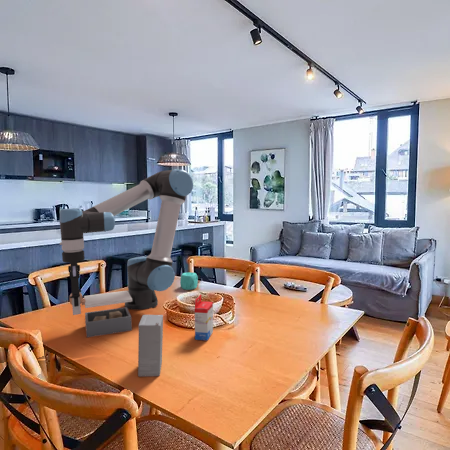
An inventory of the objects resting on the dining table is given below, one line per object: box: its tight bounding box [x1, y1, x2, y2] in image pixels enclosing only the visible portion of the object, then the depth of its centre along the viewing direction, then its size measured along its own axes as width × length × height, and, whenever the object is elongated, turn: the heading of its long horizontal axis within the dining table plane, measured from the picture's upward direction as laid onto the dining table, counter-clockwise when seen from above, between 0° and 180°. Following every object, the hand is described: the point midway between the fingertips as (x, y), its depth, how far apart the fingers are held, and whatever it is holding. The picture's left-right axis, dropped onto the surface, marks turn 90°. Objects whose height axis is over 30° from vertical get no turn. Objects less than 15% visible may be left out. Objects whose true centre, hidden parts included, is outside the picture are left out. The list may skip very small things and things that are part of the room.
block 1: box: [93, 316, 106, 321], centre depth 132 cm, size 4×4×5 cm
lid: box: [69, 289, 132, 309], centre depth 132 cm, size 22×13×4 cm, turn 114°
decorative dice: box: [179, 271, 199, 291], centre depth 193 cm, size 8×8×8 cm
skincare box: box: [137, 314, 164, 378], centre depth 103 cm, size 8×7×16 cm
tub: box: [84, 306, 133, 338], centre depth 134 cm, size 16×12×6 cm
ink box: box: [194, 294, 214, 341], centre depth 127 cm, size 8×5×15 cm, turn 168°
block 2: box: [109, 311, 122, 319], centre depth 137 cm, size 4×4×5 cm
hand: (76, 311), depth 129 cm, fingers closed on lid, 4 cm apart
